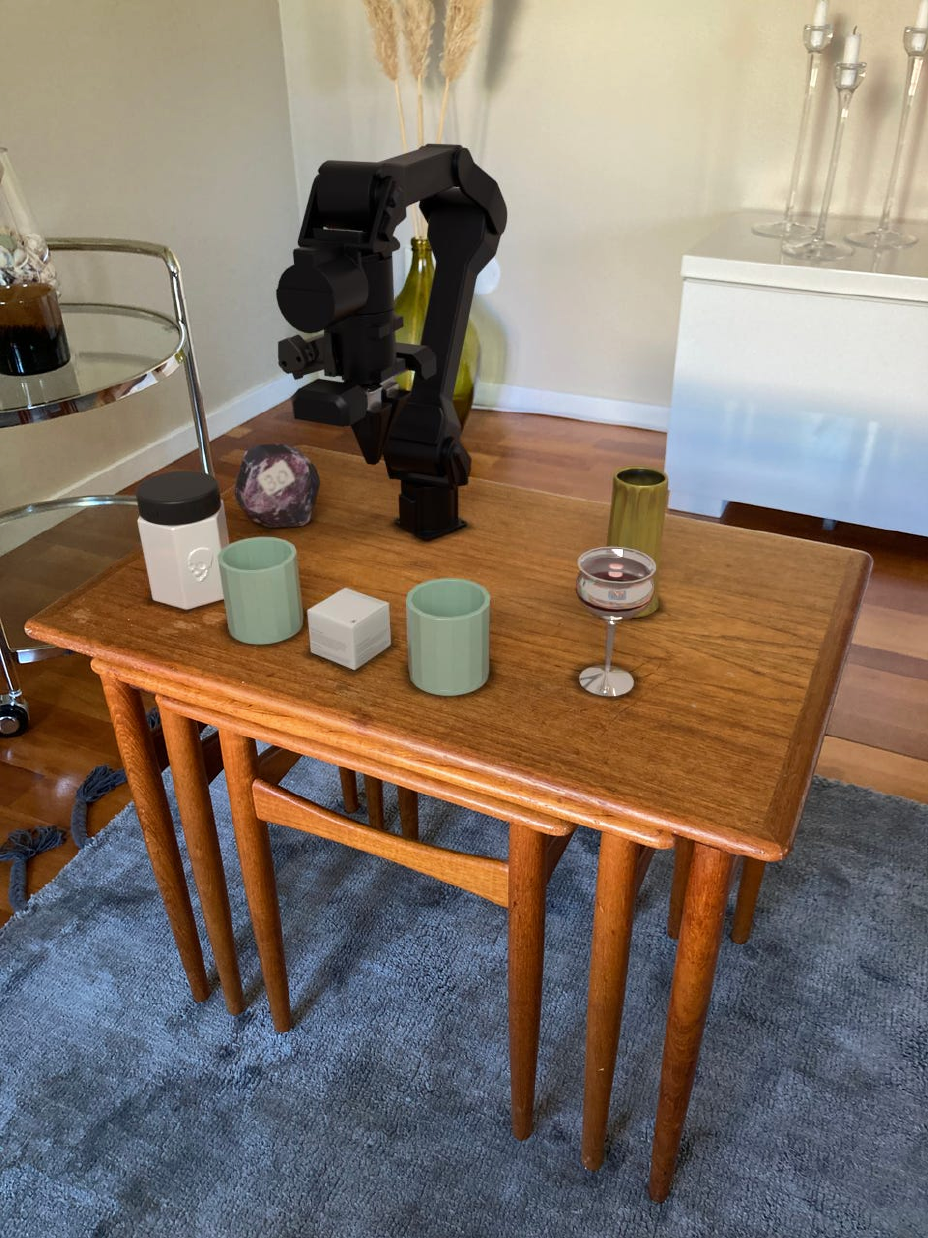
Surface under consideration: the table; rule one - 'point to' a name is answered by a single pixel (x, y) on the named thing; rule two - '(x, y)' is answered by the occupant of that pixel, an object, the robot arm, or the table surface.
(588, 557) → the wineglass
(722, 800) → the table surface
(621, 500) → the vase
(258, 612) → the cup
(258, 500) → the mineral specimen
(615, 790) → the table surface
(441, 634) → the cup
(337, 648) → the small box
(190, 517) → the jar
